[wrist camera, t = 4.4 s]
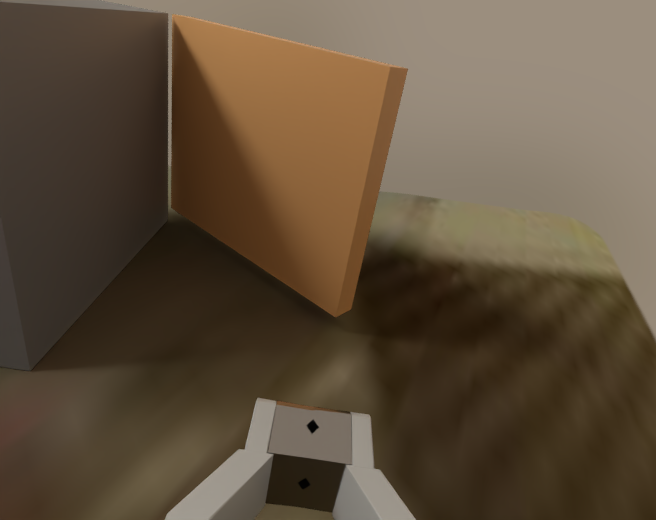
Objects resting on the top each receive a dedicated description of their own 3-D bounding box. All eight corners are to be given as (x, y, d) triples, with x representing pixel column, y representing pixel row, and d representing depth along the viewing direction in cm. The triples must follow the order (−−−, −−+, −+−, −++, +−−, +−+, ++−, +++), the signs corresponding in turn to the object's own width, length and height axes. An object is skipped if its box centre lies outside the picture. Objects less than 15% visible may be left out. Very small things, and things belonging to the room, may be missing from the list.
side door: (335, 317, 27) (390, 66, 20) (171, 207, 36) (172, 14, 30) (362, 303, 28) (420, 70, 22) (199, 202, 38) (206, 19, 32)
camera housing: (-151, 344, 20) (-338, -97, 13) (76, 198, 37) (54, -27, 30) (30, 371, 20) (-48, -40, 13) (172, 214, 37) (174, -3, 30)
